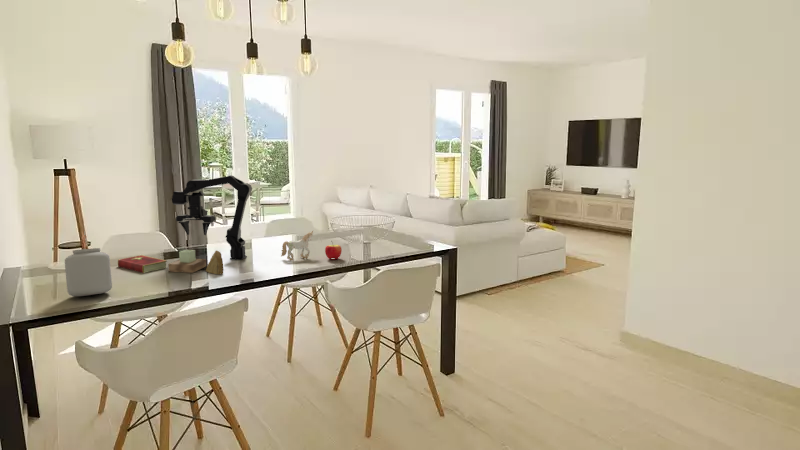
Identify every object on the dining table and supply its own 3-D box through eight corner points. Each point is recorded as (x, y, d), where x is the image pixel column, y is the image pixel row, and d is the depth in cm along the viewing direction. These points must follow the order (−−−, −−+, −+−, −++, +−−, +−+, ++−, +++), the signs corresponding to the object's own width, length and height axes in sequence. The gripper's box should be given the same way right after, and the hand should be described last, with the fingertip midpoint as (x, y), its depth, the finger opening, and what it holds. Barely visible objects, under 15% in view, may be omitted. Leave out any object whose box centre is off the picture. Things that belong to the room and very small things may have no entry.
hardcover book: (143, 274, 226) (142, 265, 225) (118, 267, 237) (117, 259, 236) (167, 268, 236) (166, 260, 236) (142, 262, 247) (141, 254, 246)
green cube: (195, 260, 236) (195, 250, 235) (189, 262, 231) (188, 252, 231) (186, 259, 237) (185, 249, 236) (179, 262, 232) (179, 251, 231)
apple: (322, 260, 254) (322, 241, 252) (330, 256, 262) (330, 238, 260) (336, 261, 251) (336, 242, 249) (344, 258, 259) (344, 239, 257)
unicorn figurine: (320, 257, 261) (319, 232, 259) (286, 262, 249) (285, 236, 246) (313, 254, 266) (313, 230, 264) (280, 259, 254) (279, 234, 252)
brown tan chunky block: (229, 269, 224) (229, 261, 233) (216, 256, 221) (217, 248, 230) (210, 284, 224) (211, 275, 233) (196, 271, 220) (198, 263, 229)
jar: (68, 291, 197) (62, 230, 193) (111, 286, 205) (106, 227, 201) (67, 304, 181) (60, 237, 177) (113, 298, 189) (108, 234, 185)
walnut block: (206, 267, 240) (205, 259, 239) (193, 273, 228) (192, 265, 227) (183, 266, 241) (182, 258, 240) (168, 272, 229) (168, 264, 229)
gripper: (220, 203, 257) (221, 232, 259) (186, 202, 259) (188, 231, 262) (209, 205, 246) (210, 236, 249) (174, 205, 248) (176, 235, 251)
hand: (196, 234), depth 253 cm, fingers open, 9 cm apart
